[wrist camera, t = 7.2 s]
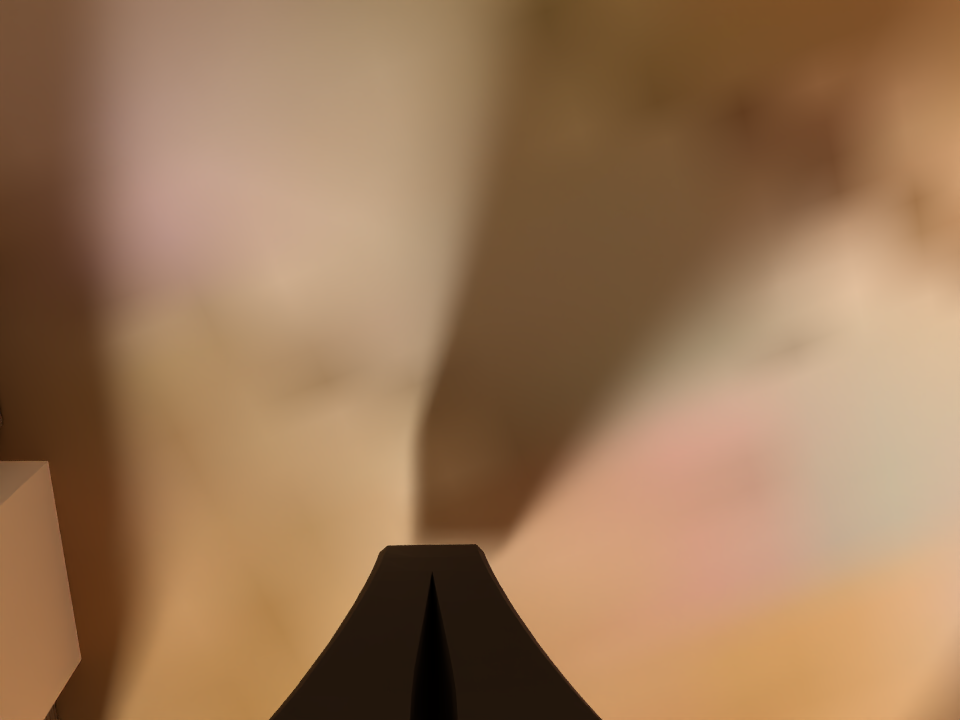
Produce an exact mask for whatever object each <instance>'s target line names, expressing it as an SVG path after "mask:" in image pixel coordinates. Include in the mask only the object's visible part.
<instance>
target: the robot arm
mask: <svg viewBox="0 0 960 720" xmlns="http://www.w3.org/2000/svg"><path fill="white" fill-rule="evenodd" d="M269 720H602V719H601V718H600V717H599V716H598V715H597V714H596V713H595V712H594V711H593V709H592V708H591V707H590V706H589V705H588V704H587V703H586V702H585V701H584V699H583V698H582V697H581V696H580V695H579V694H578V693H577V691H576V690H575V689H574V688H573V687H572V686H571V684H570V683H569V682H568V681H567V679H566V678H565V677H564V676H563V674H562V673H561V672H560V671H559V670H558V668H557V667H556V666H555V665H554V663H553V662H552V661H551V660H550V658H549V657H548V656H547V654H546V653H545V652H544V650H543V649H542V648H541V646H540V645H539V644H538V642H537V641H536V639H535V638H534V636H533V635H532V634H531V632H530V631H529V629H528V628H527V626H526V625H525V623H524V622H523V621H522V619H521V618H520V616H519V615H518V613H517V612H516V610H515V609H514V607H513V606H512V604H511V602H510V601H509V599H508V598H507V596H506V594H505V592H504V591H503V589H502V587H501V586H500V584H499V582H498V581H497V579H496V577H495V575H494V573H493V571H492V569H491V567H490V565H489V563H488V561H487V559H486V557H485V554H484V552H483V551H482V550H481V549H480V548H479V547H478V546H477V545H476V544H467V545H396V546H387V547H385V548H384V549H383V550H382V551H381V552H380V553H379V555H378V558H377V561H376V563H375V565H374V567H373V570H372V572H371V574H370V576H369V578H368V580H367V582H366V583H365V585H364V587H363V589H362V591H361V592H360V594H359V596H358V598H357V599H356V601H355V603H354V605H353V606H352V608H351V609H350V611H349V612H348V614H347V616H346V617H345V619H344V620H343V622H342V623H341V625H340V627H339V628H338V630H337V631H336V633H335V634H334V636H333V638H332V639H331V640H330V642H329V643H328V645H327V646H326V648H325V649H324V650H323V652H322V653H321V654H320V656H319V657H318V658H317V660H316V661H315V663H314V664H313V665H312V667H311V668H310V669H309V671H308V672H307V673H306V675H305V676H304V677H303V679H302V680H301V681H300V683H299V684H298V685H297V687H296V688H295V689H294V690H293V692H292V693H291V694H290V695H289V697H288V698H287V699H286V700H285V701H284V703H283V704H282V705H281V706H280V708H279V709H278V710H277V711H276V712H275V713H274V715H273V716H272V717H271V718H270V719H269Z"/></svg>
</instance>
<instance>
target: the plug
mask: <svg viewBox="0 0 960 720" xmlns="http://www.w3.org/2000/svg"><path fill="white" fill-rule="evenodd" d="M80 661H81V654H80V648H79V642H78V636H77V630H76V624H75V618H74V612H73V606H72V600H71V594H70V588H69V582H68V576H67V570H66V564H65V558H64V552H63V547H62V541H61V535H60V529H59V523H58V517H57V511H56V505H55V499H54V493H53V487H52V481H51V475H50V469H49V463H48V461H0V720H44V719H45V717H46V715H47V714H48V712H49V711H50V709H51V707H52V706H53V704H54V703H55V701H56V699H57V698H58V696H59V695H60V693H61V691H62V690H63V688H64V687H65V685H66V683H67V682H68V680H69V679H70V677H71V675H72V674H73V672H74V671H75V669H76V667H77V666H78V664H79V663H80Z"/></svg>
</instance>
